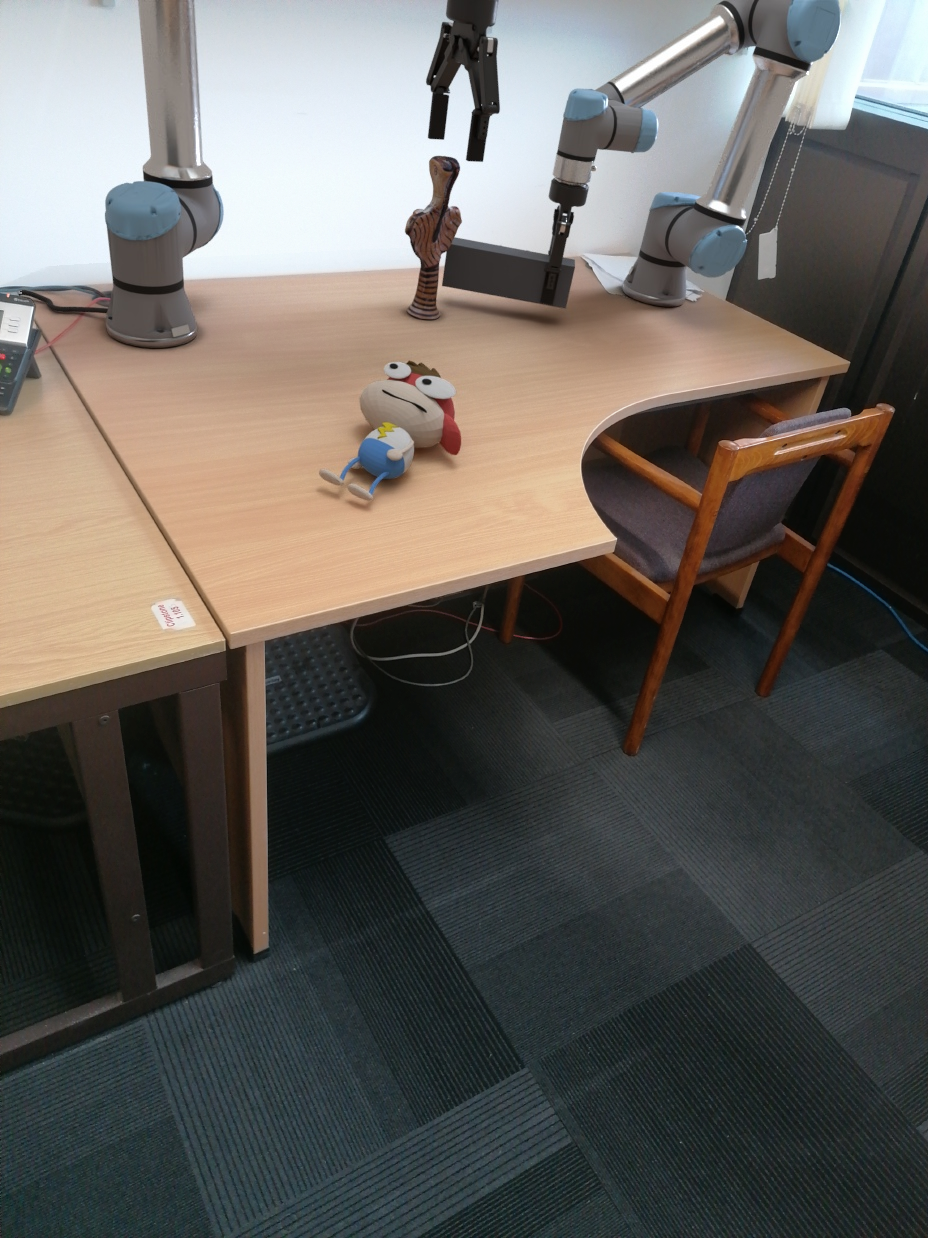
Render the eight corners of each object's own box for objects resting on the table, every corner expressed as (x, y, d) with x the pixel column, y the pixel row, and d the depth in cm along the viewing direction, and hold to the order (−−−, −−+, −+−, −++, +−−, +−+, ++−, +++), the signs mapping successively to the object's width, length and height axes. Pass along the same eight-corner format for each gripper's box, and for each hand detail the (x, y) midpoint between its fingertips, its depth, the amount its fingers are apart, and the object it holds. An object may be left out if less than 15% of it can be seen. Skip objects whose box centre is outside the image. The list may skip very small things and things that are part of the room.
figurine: (432, 300, 190) (450, 146, 171) (461, 312, 187) (483, 156, 168) (388, 314, 180) (402, 152, 161) (417, 327, 177) (436, 163, 158)
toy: (281, 425, 122) (398, 341, 141) (280, 482, 129) (391, 396, 148) (394, 483, 117) (499, 388, 137) (386, 539, 125) (486, 442, 144)
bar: (441, 285, 186) (447, 243, 181) (444, 277, 190) (450, 236, 185) (565, 308, 187) (575, 266, 181) (565, 300, 191) (574, 259, 185)
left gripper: (539, 6, 124) (512, 171, 137) (457, -19, 140) (440, 131, 153) (493, 0, 121) (470, 170, 134) (414, -25, 137) (401, 128, 150)
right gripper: (590, 195, 167) (563, 316, 181) (588, 173, 181) (564, 287, 196) (551, 187, 167) (527, 309, 181) (552, 167, 181) (530, 281, 195)
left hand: (454, 149), depth 144 cm, fingers open, 13 cm apart
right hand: (546, 298), depth 188 cm, fingers closed on bar, 5 cm apart
